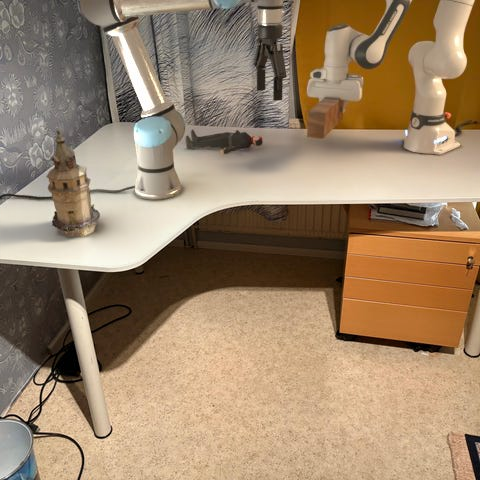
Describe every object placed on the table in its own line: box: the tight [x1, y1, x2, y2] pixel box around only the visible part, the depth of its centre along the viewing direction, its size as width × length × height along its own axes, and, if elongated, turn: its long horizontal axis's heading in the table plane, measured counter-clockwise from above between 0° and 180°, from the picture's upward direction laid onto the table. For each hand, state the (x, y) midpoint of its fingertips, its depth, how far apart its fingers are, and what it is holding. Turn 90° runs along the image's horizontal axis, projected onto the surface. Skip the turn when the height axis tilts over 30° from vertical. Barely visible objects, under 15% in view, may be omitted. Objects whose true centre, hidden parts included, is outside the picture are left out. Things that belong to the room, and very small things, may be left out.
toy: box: [185, 129, 264, 156], centre depth 213 cm, size 26×6×30 cm
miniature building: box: [46, 129, 101, 237], centre depth 148 cm, size 13×14×30 cm
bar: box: [306, 97, 345, 140], centre depth 193 cm, size 25×6×9 cm, turn 156°
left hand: (269, 95), depth 171 cm, fingers open, 13 cm apart
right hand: (332, 110), depth 200 cm, fingers closed on bar, 6 cm apart
